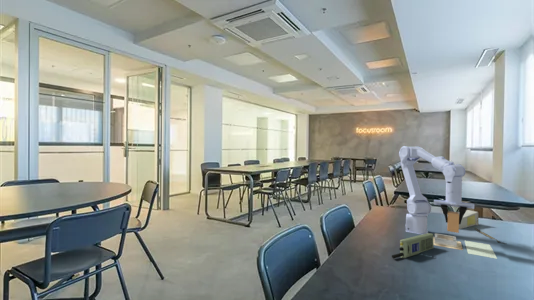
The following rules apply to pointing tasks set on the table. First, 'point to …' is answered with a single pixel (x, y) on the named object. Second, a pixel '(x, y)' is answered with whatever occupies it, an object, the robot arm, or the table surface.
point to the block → (469, 219)
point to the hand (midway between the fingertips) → (453, 222)
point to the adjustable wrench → (487, 235)
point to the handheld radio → (415, 245)
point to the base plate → (449, 246)
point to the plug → (453, 222)
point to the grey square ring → (445, 240)
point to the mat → (480, 249)
